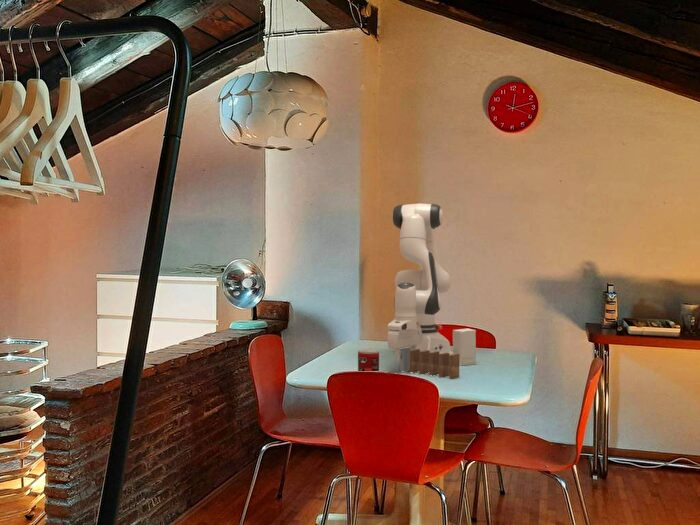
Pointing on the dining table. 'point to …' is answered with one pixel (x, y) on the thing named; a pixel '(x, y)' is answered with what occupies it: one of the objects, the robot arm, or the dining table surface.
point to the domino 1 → (405, 359)
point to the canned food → (368, 360)
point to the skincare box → (465, 345)
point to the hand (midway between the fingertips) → (405, 357)
